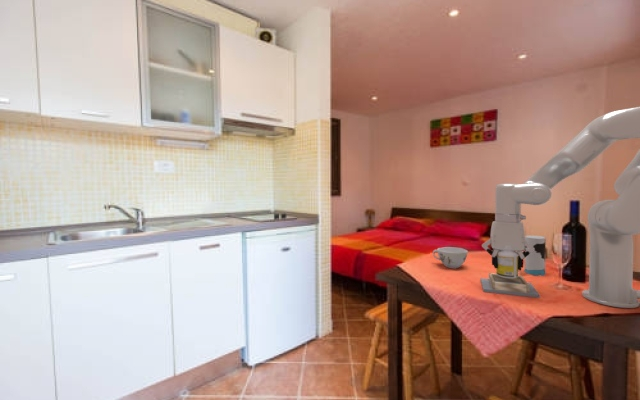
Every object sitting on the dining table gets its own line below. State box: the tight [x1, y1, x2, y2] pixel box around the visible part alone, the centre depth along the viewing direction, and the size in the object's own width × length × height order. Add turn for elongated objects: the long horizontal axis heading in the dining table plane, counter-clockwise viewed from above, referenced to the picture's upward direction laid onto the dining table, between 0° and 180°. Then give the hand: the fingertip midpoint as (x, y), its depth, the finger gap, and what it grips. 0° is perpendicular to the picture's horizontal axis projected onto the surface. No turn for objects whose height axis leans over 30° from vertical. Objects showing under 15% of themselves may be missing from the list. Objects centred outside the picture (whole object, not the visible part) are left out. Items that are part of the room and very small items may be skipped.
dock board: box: [479, 277, 541, 299], centre depth 102 cm, size 16×12×1 cm
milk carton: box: [524, 235, 547, 276], centre depth 117 cm, size 7×7×15 cm
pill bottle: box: [495, 246, 519, 279], centre depth 101 cm, size 6×6×12 cm
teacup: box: [432, 246, 468, 269], centre depth 130 cm, size 15×12×8 cm
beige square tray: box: [488, 272, 529, 293], centre depth 102 cm, size 11×11×2 cm
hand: (507, 267), depth 102 cm, fingers closed on pill bottle, 6 cm apart
